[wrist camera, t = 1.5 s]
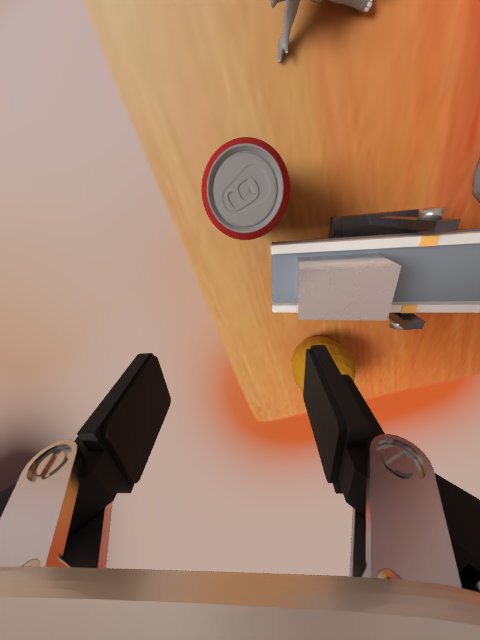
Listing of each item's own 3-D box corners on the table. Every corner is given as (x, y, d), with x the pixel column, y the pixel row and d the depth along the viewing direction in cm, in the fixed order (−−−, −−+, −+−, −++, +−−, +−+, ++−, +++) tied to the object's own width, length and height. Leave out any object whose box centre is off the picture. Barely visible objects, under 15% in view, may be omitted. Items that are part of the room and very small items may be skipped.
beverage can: (285, 208, 26) (310, 208, 15) (238, 240, 28) (230, 259, 17) (257, 149, 23) (263, 100, 13) (207, 188, 25) (176, 173, 14)
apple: (276, 340, 34) (283, 379, 27) (325, 314, 32) (350, 348, 24) (300, 374, 38) (314, 418, 30) (347, 353, 35) (375, 395, 27)
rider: (297, 256, 21) (299, 269, 17) (376, 252, 20) (401, 266, 15) (295, 298, 23) (297, 319, 19) (367, 297, 22) (387, 320, 17)
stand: (274, 218, 26) (289, 223, 17) (482, 198, 24) (636, 191, 15) (275, 301, 31) (287, 342, 22) (448, 289, 29) (546, 329, 20)
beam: (272, 242, 22) (270, 246, 20) (604, 220, 17) (649, 222, 15) (273, 303, 25) (272, 312, 23) (552, 302, 20) (584, 313, 18)
